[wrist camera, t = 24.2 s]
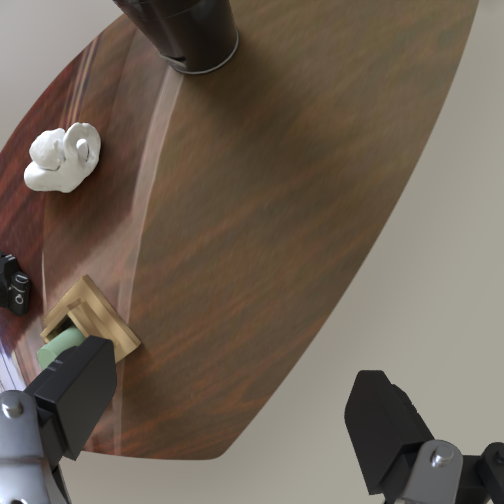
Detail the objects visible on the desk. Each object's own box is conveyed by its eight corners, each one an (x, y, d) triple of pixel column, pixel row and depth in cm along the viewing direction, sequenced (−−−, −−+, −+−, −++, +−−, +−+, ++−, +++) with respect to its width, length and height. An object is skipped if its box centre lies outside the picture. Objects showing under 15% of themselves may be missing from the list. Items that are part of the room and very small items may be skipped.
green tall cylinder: (68, 329, 39) (32, 357, 30) (83, 315, 38) (45, 342, 29) (87, 353, 39) (54, 384, 30) (103, 340, 38) (69, 371, 30)
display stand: (48, 317, 41) (27, 330, 35) (87, 274, 38) (64, 285, 33) (96, 376, 42) (79, 395, 36) (141, 342, 40) (125, 361, 34)
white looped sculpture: (38, 193, 37) (3, 160, 30) (95, 136, 40) (67, 96, 32) (54, 224, 34) (11, 188, 26) (119, 158, 36) (87, 112, 29)
